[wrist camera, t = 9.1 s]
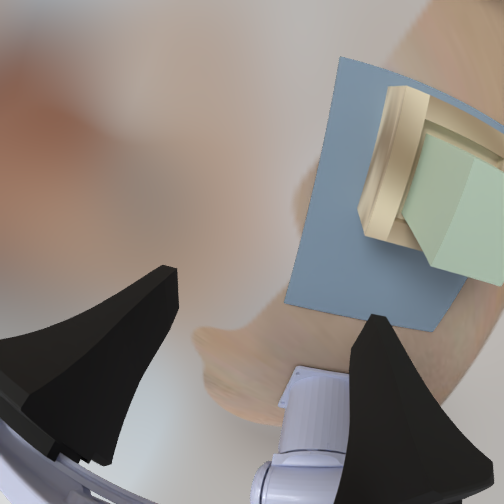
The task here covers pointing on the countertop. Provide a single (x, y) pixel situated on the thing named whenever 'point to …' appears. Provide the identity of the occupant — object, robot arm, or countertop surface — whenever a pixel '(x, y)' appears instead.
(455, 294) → the mat
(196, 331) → the countertop surface
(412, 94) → the base brick
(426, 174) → the green brick
